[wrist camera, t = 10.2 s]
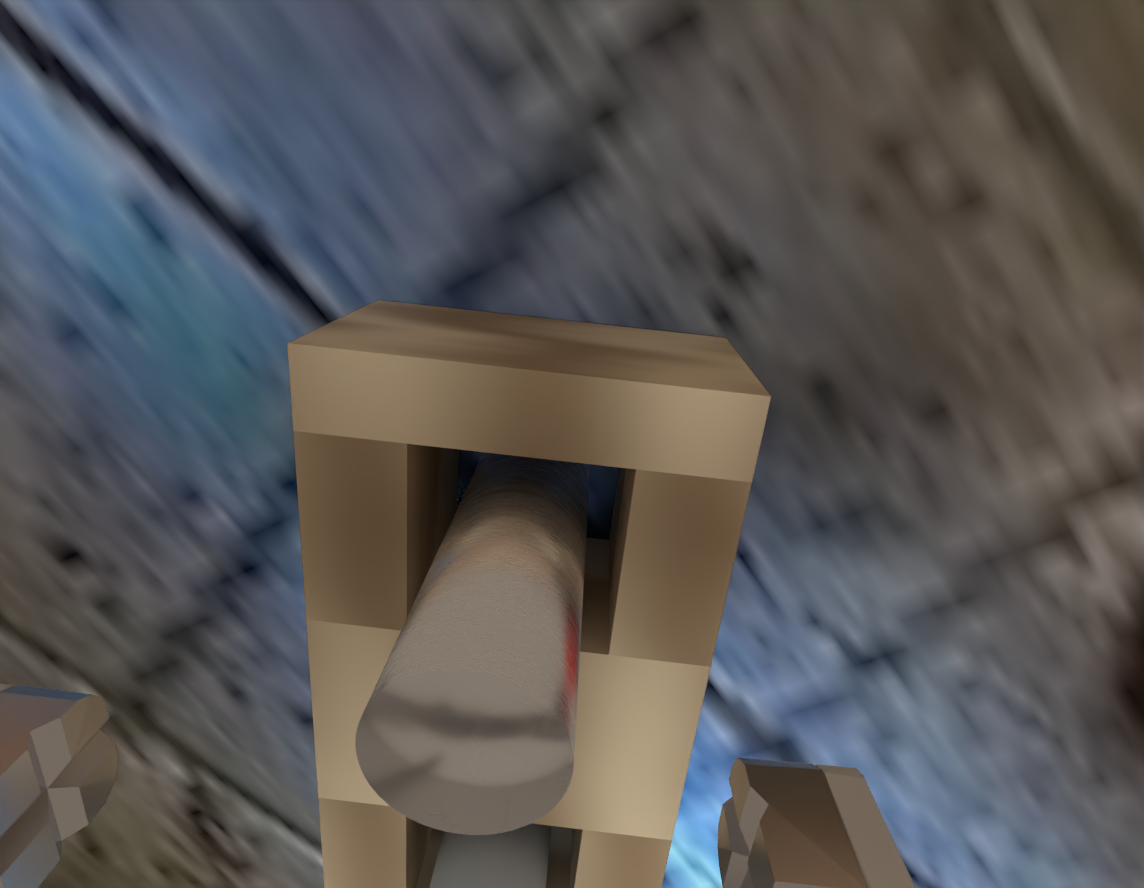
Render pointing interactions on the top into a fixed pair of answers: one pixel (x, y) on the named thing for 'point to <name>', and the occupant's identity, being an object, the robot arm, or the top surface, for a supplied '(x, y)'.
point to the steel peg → (488, 658)
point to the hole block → (612, 567)
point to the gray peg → (494, 859)
